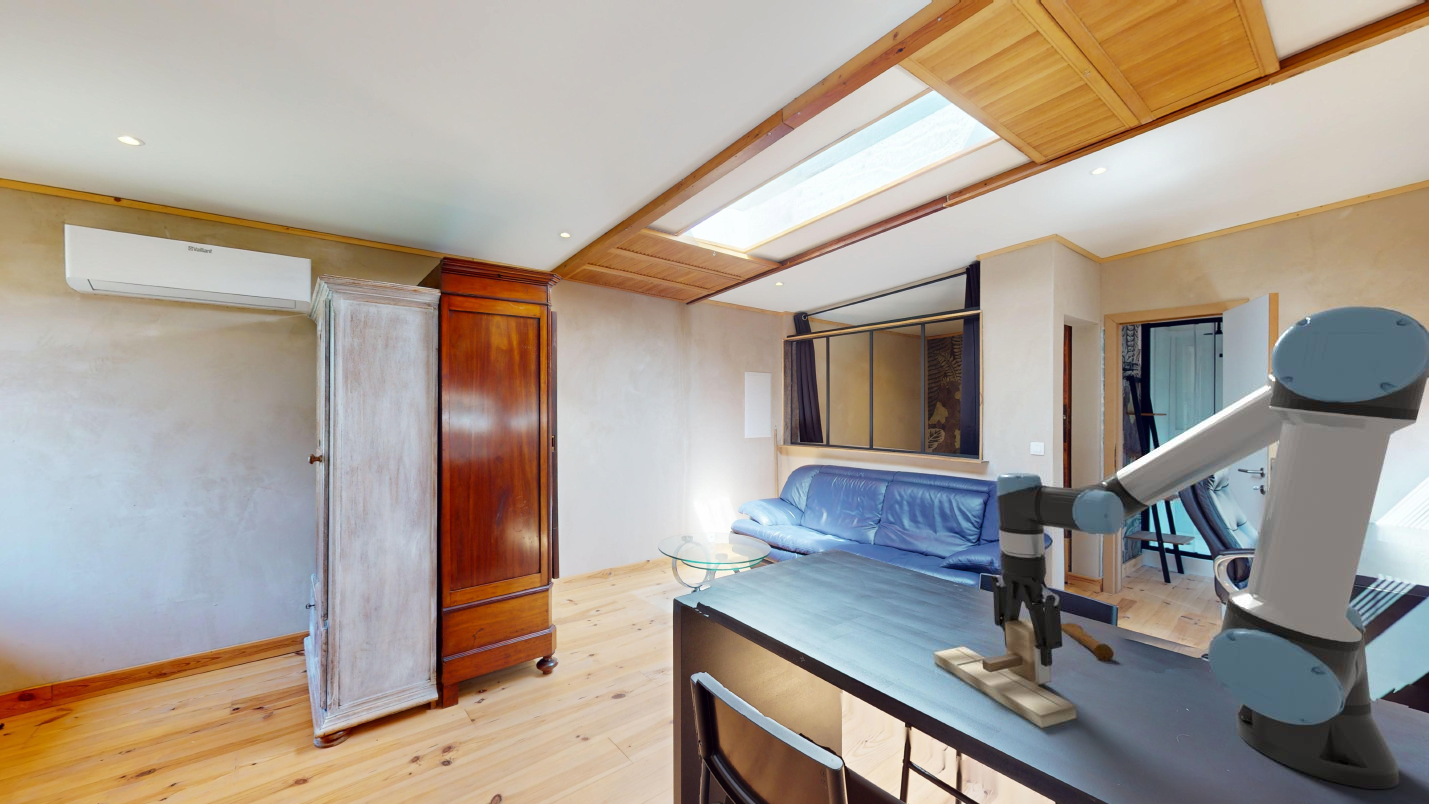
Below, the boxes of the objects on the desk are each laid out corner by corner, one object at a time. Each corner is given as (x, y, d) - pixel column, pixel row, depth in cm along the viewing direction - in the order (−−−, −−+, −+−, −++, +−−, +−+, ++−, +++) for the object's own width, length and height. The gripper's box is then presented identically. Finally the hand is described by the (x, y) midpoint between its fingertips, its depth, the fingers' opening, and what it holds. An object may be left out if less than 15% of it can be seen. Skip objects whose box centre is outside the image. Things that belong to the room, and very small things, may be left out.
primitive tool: (1051, 625, 120) (1050, 610, 121) (1076, 626, 119) (1075, 611, 120) (1096, 662, 102) (1095, 645, 102) (1126, 664, 100) (1124, 647, 101)
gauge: (1051, 681, 92) (1048, 628, 92) (998, 694, 88) (995, 638, 88) (1026, 669, 97) (1024, 618, 97) (976, 681, 93) (973, 628, 93)
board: (1076, 717, 82) (1075, 705, 82) (1041, 727, 80) (1040, 715, 80) (964, 655, 105) (963, 646, 105) (934, 662, 102) (933, 652, 103)
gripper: (1083, 562, 87) (1091, 694, 86) (997, 540, 104) (1002, 650, 103) (1052, 567, 85) (1060, 702, 84) (969, 544, 102) (975, 656, 101)
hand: (1028, 673), depth 94 cm, fingers closed on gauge, 5 cm apart
